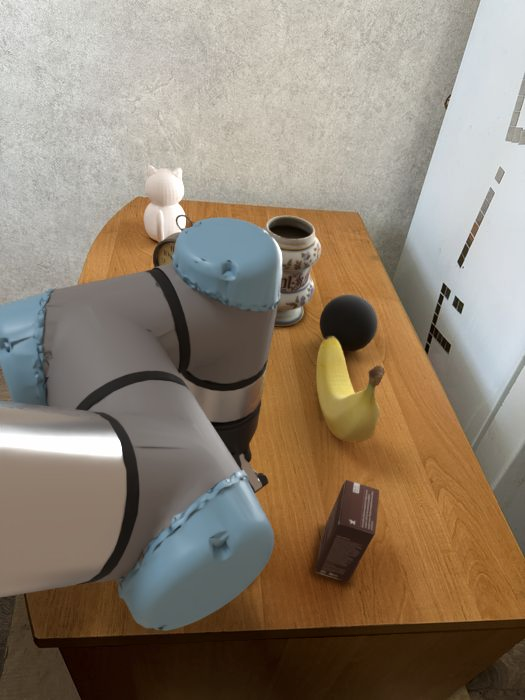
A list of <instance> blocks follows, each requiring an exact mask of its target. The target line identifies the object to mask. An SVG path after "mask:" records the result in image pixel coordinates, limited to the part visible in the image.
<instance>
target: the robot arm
mask: <svg viewBox="0 0 525 700" xmlns="http://www.w3.org/2000/svg"><path fill="white" fill-rule="evenodd" d="M172 260H173V263H170V264H167V265H162V266H158V267H154V266H153V267H152V268H151V269H148V270H147V269H146V270H143V271H139V272H134V273H129V274H124V275H118V276H113V277H109V278H105V279H99V280H96V281H95V280H94V281H89V282H84V283H81V284H75V285H70V286H66V287H61V288H50V289H48V290H45V291H44V292H42V293H40V294H36V295H32V296H28V297H25V298H21V299H18V300H13V301H10V302H7V303H2V304H1V305H0V369H1V371H2V374H3V377H4V381H5V384H6V387H7V391H8V393H9V396H10V400H11V401H6V400H5V401H4V400H0V598H5V597H11V596H18V595H23V594H29V593H30V594H31V593H36V592H41V591H49V590H54V589H61V588H67V587H72V586H78V585H79V586H80V585H84V584H96V583H97V584H98V583H105V582H109V581H114V582H116V583H117V587H118V588H117V589H118V598H119V599H122V600H123V601H124V603H125V604H126V606H127V609H128V611H129V612H130V614H131V616H132V619H133V620H134V621H135V622H136V624H138V625H140V626H141V627H143V628H144V629H154V630H156V631H172V630H176V629H179V628H183V627H185V626H188V625H191V624H193V623H195V622H198V621H201V620H202V619H204V618H206V617H209V615H211V614H213V613H215V612H217V611H218V610H220V609H222V608H223V607H224V606H226V605H227V604H229V603H230V602H231V601H232V600H234V599H235V598H237V597H238V596H239V595H240V594H242V593H243V592H244V591H245V590H246V589H247V588H248V587H249V586H250V585H251V584H252V583H253V582H254V581H256V579H257V577H258V576H260V574H261V573H262V571H263V570H264V569H265V568H266V566H267V564H268V563H269V561H270V559H271V556H272V553H273V551H274V546H275V533H274V530H273V527H272V524H271V522H270V520H269V518H268V516H267V514H266V512H265V511H264V508H263V507H262V505H261V503H260V501H259V499H258V497H257V496H256V495H257V494H256V493H258V492H259V491H260V490H262V489H263V488H264V487H266V486H267V485H268V484H269V479H268V476H267V475H266V474H265V473H263V472H258V473H257V471H256V470H255V469H254V468H253V467H252V465H251V464H250V462H251V461H252V458H253V455H252V450H251V447H250V444H251V442H252V440H253V438H254V435H255V434H256V432H257V429H258V425H259V419H260V413H261V406H262V398H263V392H264V386H265V380H266V375H267V370H268V369H267V367H268V363H269V356H270V350H271V345H272V341H273V340H272V339H273V335H274V329H275V326H274V325H275V319H276V314H277V309H278V305H279V302H280V300H281V296H280V294H281V293H280V288H281V279H282V253H281V250H280V247H279V245H278V243H277V242H276V241H275V239H274V238H272V237H271V236H270V235H269V234H268V233H267V232H266V231H265V230H264V228H262V227H261V226H259V225H256V224H255V223H252V222H250V221H246V220H243V219H239V218H234V217H220V216H219V217H209V218H204V219H200V220H197V221H195V222H194V223H193V226H192V227H191V226H190V227H185V229H184V230H183V231H182V232H181V233H180V234H179V236H178V237H177V240H176V243H175V249H174V252H173V255H172Z"/></svg>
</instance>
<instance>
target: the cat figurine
mask: <svg viewBox="0 0 525 700" xmlns="http://www.w3.org/2000/svg"><path fill="white" fill-rule="evenodd" d="M146 170H147V171H146V173H147V174H146V175H147V178H146V180H145V185H144V192H145V195H146V197H147V198H148V200H149V201H150V202H149V203H148V205H147V206H146V207H145V210H144V213H143V225H144V229H145V231H146V233H147V235H148V236H149V238H150V239H152V240H154V241H156V242H157V243H160V242H161V241H163V240H164V239H166V238H167V237H168V236H170V235H172V234H174V233H177V232H181V230H180V229H179V227H180V228H181V229H183V228H186V226H187V218H186V217H183V216H181V217H179V218H178V220H177V222H178V225H179V227H178V226H177V224H176V217H177V216H178V215H186V212H185V211H184V209H183V207H182V205H181V204H180V202H181V201H182V199H183V198H184V197H185V186H184V182H183V179H182V178H183V170H182V168H181V167H176V168H175V169H170V168H166V167H164V168H163V167H161V168H156V167H155V166H153V165H151V164H148V166H147V169H146Z"/></svg>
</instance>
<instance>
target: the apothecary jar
mask: <svg viewBox="0 0 525 700" xmlns="http://www.w3.org/2000/svg"><path fill="white" fill-rule="evenodd" d="M263 229H264V230H265V231H266V232H267V233H268V234H269V235H270V236H271V237H272V238H274V239H275V241H276V242H277V243H278V245H279V247H280V250H281V253H282V279H281V288H280V293H281V294H280V296H281V300H280V302H279V305H278V309H277V314H276V319H275V325H274V327H289V326H293V325H295V324H297V323H299V321H301V319H302V318H303V316H304V312H305V311H304V306H305V305H307V304H308V303H309V302H310V301H311V300H312V298H313V296H314V295H315V294H314V293H315V284H314V280H313V279H312V277H311V269H312V266H314V265H315V264H317V262H318V261H319V260H320V257H321V254H322V245H321V242H320V241H319V239H318V238H317V236H316V230H315V227H314V225H313V224H312V223H311V222H309V221H308V220H306V219H304V218H302V217H299V216H295V215H277V216H274V217H272V218H270V219H269V220H267V222H266V223H265V226H264V228H263Z"/></svg>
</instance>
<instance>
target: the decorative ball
mask: <svg viewBox="0 0 525 700" xmlns="http://www.w3.org/2000/svg"><path fill="white" fill-rule="evenodd" d="M377 315H378V314H377V313H376V310H375V308H374V307H373V306H372V304H371V303H370V302H369V301H368V300H367V299H365V298H364V297H362V296H359V295H355V294H342V295H338V296H336V297H334V298H332V299H331V300H330V301H329V302H328V303H326V304H325V306H324V308H323V309H322V311H321V314H320V316H319V317H320V318H319V329H320V332H321V333H320V334H321V335H322V337H323V340H324V339H325V338H326V337H327V336H335V337H336V339H337V340H338V341H339V343H340V345H341V348H342V351H343V352H344V353H345V352H346V353H347V352H348V353H350V352H357V351H359V350H361V349H363V348H365V347H367V346H368V345H369V344H370V343H371V342H372V340H373V339H374V338H375V336H376V333H377V330H378V324H379V323H378V316H377Z"/></svg>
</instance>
